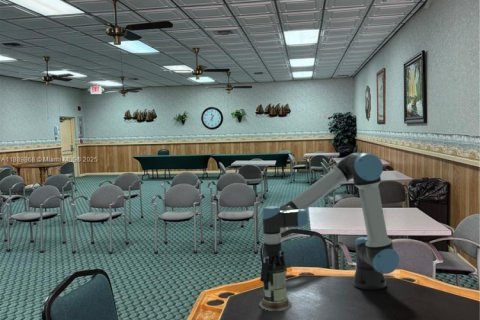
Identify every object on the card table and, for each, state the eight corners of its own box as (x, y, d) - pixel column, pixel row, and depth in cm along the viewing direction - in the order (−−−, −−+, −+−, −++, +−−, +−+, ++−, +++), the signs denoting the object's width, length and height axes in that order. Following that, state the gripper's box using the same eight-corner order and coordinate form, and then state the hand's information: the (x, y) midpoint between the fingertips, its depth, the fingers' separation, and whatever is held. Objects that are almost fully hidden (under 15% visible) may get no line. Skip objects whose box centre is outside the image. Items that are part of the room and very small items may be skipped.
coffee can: (262, 303, 186) (260, 270, 186) (264, 294, 196) (263, 264, 196) (286, 303, 185) (284, 270, 184) (287, 295, 195) (286, 264, 194)
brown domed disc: (288, 298, 198) (288, 292, 198) (293, 310, 184) (293, 304, 184) (257, 300, 197) (257, 294, 197) (260, 312, 183) (260, 306, 183)
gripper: (279, 236, 201) (281, 283, 202) (250, 247, 183) (252, 299, 184) (293, 237, 196) (295, 286, 197) (264, 249, 178) (267, 302, 179)
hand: (274, 292), depth 190 cm, fingers closed on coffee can, 10 cm apart
